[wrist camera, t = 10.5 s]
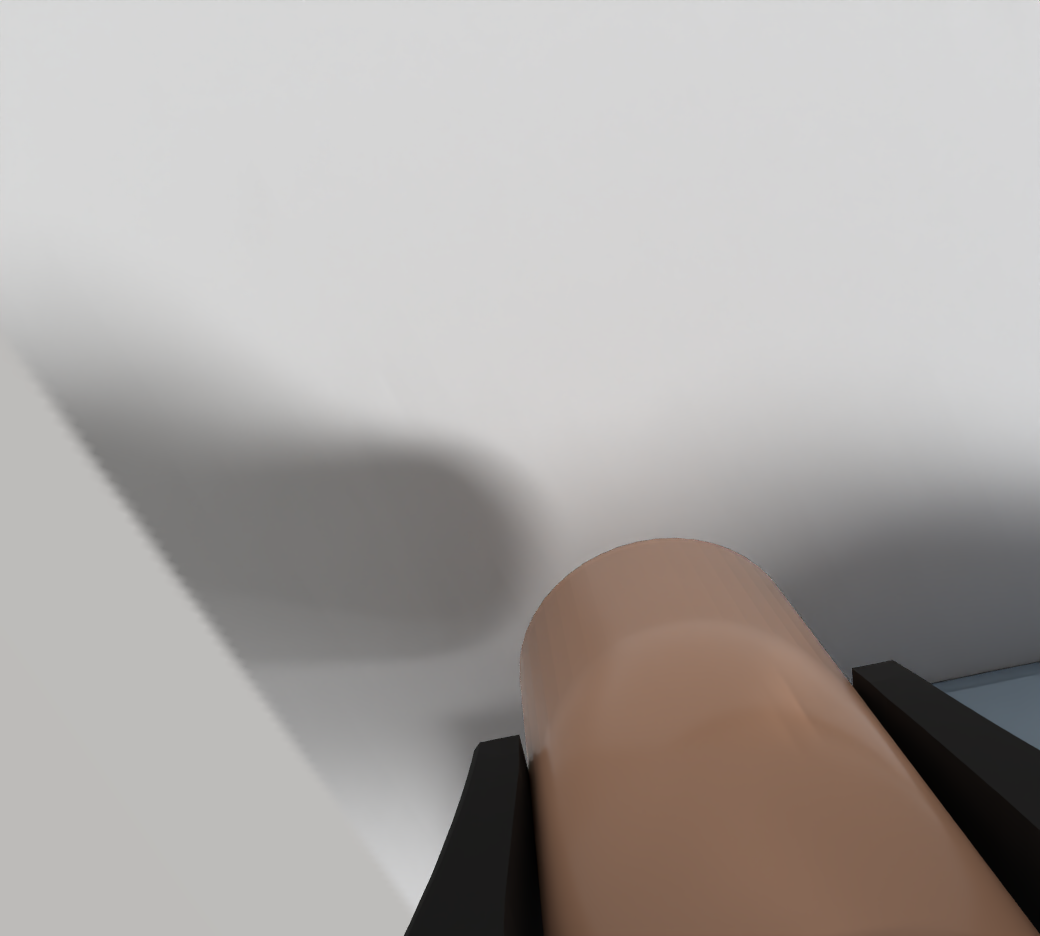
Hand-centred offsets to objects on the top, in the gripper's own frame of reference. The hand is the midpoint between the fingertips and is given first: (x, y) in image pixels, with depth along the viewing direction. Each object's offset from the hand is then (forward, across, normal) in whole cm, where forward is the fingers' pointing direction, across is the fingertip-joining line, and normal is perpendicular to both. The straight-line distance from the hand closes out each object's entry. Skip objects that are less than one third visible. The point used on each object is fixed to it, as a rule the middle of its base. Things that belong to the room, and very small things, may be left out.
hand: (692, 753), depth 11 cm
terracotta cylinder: (+2, 0, 0) cm, 2 cm away
